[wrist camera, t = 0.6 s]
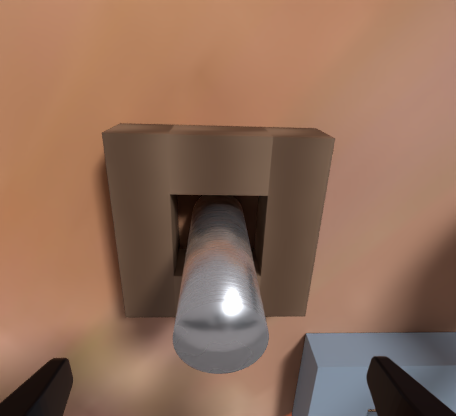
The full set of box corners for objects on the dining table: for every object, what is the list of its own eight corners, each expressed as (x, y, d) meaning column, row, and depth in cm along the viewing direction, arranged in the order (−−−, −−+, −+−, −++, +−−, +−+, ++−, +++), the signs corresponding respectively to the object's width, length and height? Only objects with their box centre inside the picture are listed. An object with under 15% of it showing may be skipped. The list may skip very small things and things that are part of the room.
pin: (244, 191, 19) (272, 302, 10) (241, 237, 20) (264, 373, 11) (192, 190, 19) (170, 301, 10) (192, 236, 20) (174, 374, 11)
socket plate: (479, 332, 24) (513, 364, 22) (428, 440, 30) (450, 477, 27) (306, 333, 24) (318, 367, 21) (286, 444, 29) (294, 482, 26)
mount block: (316, 128, 17) (334, 138, 15) (293, 286, 22) (305, 316, 19) (120, 123, 17) (101, 132, 14) (137, 286, 21) (125, 317, 19)
